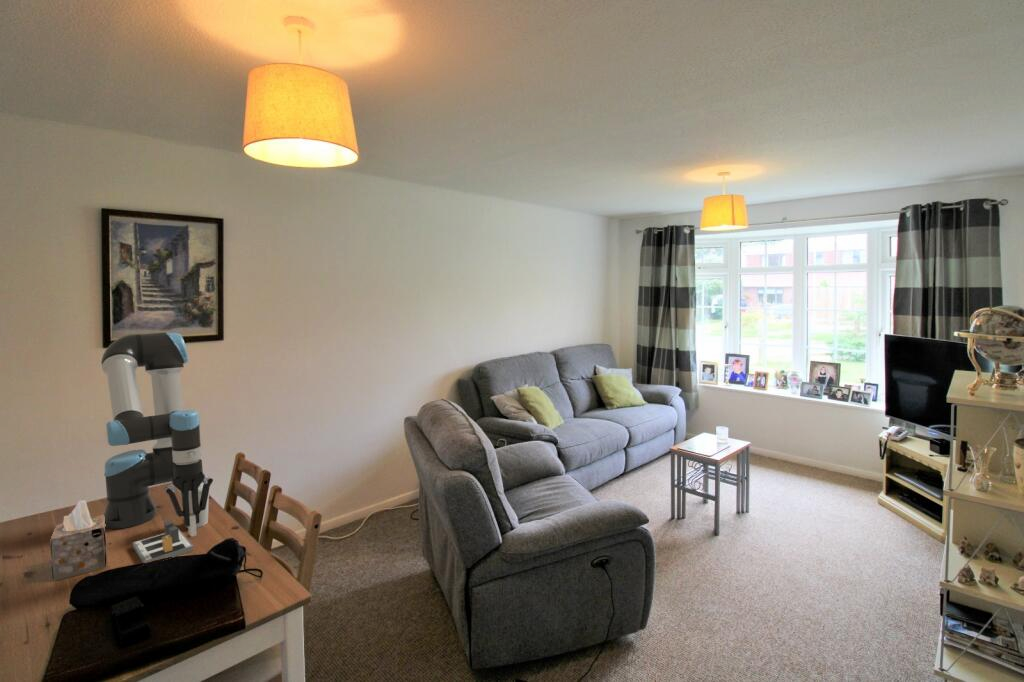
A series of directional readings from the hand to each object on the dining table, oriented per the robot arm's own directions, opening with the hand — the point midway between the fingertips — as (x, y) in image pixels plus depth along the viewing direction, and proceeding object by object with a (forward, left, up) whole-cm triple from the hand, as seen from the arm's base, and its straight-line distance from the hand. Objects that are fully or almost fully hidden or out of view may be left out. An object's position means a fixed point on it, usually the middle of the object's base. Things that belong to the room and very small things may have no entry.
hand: (192, 534), depth 159 cm
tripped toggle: (0, -7, -3) cm, 7 cm away
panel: (-6, -7, -4) cm, 10 cm away
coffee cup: (-17, +6, -5) cm, 19 cm away
